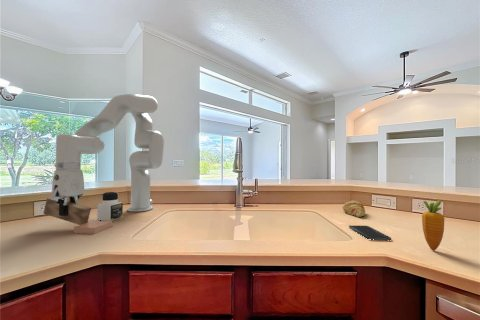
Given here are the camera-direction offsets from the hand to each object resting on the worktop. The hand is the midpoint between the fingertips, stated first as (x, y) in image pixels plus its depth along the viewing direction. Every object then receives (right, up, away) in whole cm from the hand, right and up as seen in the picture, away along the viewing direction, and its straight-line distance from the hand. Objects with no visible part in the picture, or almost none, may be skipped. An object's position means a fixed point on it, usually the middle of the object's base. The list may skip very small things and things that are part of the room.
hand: (67, 213), depth 83 cm
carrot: (+123, -6, -19) cm, 125 cm away
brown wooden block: (-1, -2, 0) cm, 2 cm away
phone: (+114, -7, -4) cm, 114 cm away
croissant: (+125, -7, +29) cm, 128 cm away
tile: (+7, -4, -1) cm, 8 cm away
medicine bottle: (+8, -6, +14) cm, 17 cm away
